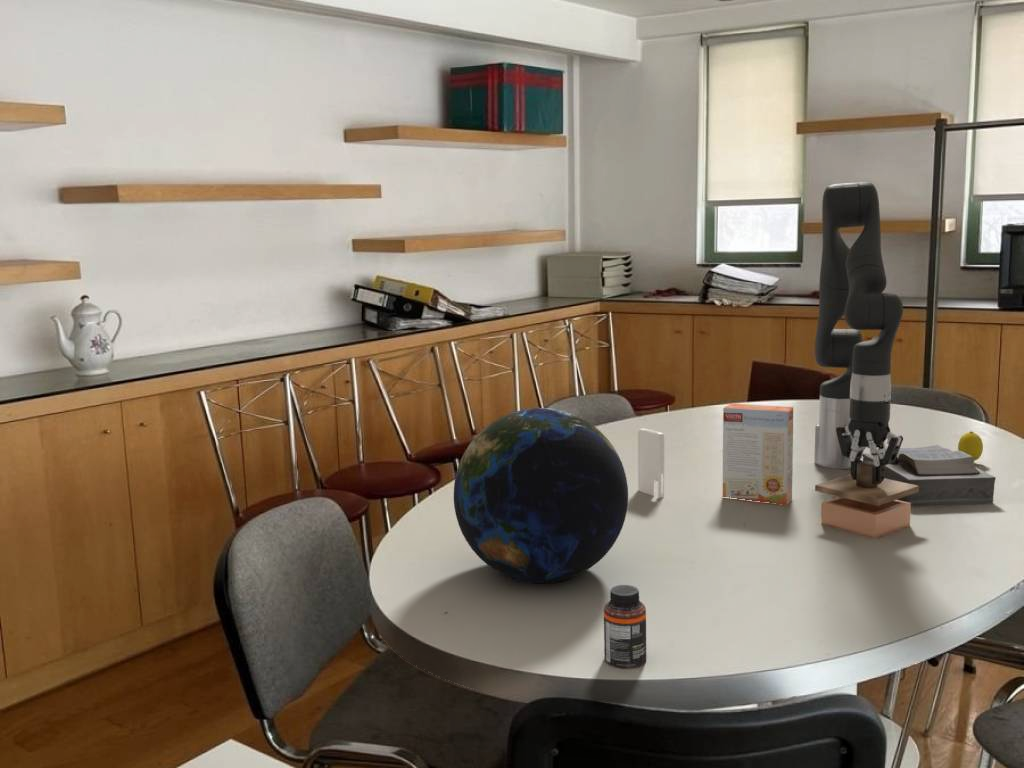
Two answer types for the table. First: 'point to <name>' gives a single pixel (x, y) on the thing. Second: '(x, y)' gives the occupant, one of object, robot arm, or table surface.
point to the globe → (540, 495)
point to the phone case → (650, 461)
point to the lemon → (971, 445)
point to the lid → (866, 487)
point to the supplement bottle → (625, 628)
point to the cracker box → (758, 452)
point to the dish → (866, 516)
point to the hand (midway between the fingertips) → (867, 481)
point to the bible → (940, 476)
